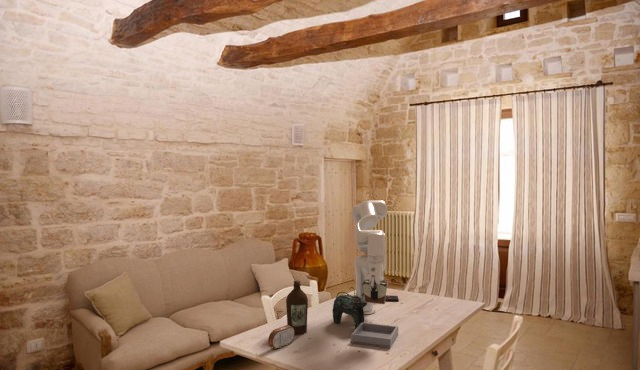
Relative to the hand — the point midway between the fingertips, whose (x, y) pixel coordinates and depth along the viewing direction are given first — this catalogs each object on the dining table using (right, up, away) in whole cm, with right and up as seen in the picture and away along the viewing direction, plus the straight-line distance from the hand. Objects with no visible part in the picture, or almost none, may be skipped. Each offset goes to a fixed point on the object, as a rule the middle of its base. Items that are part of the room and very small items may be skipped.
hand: (375, 297), depth 212 cm
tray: (0, -19, 0) cm, 19 cm away
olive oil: (-37, -20, +10) cm, 43 cm away
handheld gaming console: (+16, -18, +67) cm, 72 cm away
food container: (0, -2, +1) cm, 2 cm away
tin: (-43, -20, -8) cm, 48 cm away
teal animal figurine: (-12, -19, +18) cm, 29 cm away
